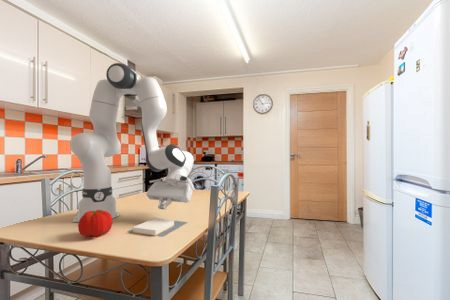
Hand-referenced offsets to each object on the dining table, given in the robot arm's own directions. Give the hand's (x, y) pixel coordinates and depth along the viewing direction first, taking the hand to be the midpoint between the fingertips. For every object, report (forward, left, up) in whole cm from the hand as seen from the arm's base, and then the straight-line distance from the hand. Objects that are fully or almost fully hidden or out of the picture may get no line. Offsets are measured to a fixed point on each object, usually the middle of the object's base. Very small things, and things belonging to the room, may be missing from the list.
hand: (161, 208), depth 93 cm
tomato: (-4, -23, -8) cm, 25 cm away
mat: (+1, -1, -7) cm, 8 cm away
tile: (0, +1, -7) cm, 7 cm away
